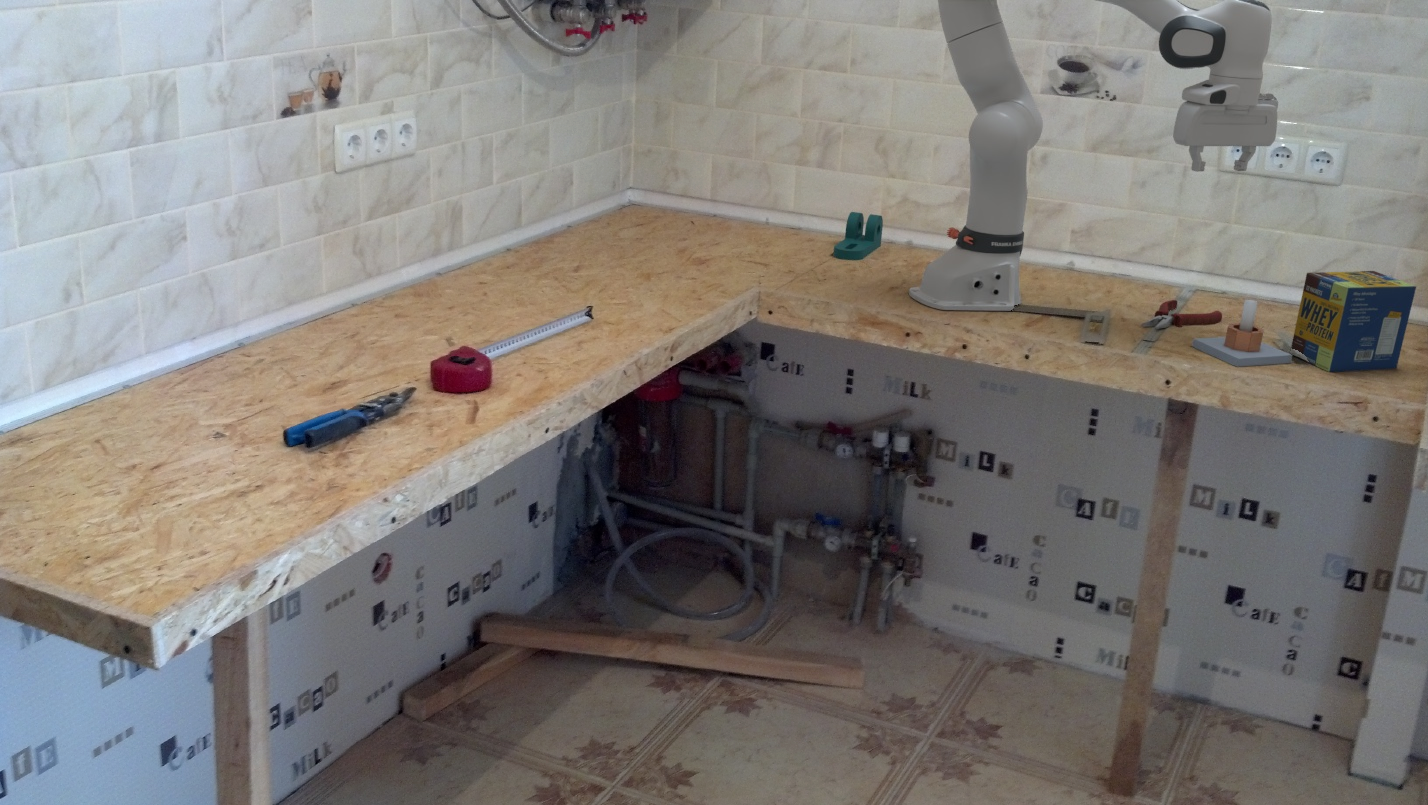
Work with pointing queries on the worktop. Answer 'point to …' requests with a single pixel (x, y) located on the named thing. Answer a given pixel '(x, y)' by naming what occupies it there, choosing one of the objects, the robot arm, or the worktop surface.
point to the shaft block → (1242, 358)
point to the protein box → (1352, 320)
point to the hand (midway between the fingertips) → (1218, 171)
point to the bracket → (860, 237)
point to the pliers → (1180, 317)
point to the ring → (1243, 338)
